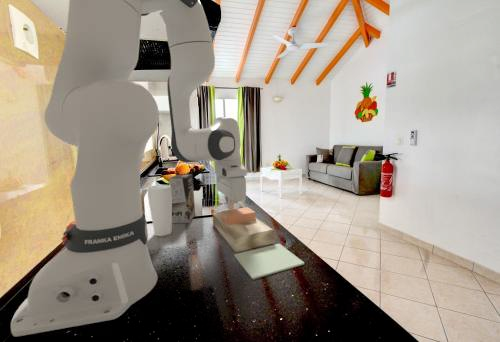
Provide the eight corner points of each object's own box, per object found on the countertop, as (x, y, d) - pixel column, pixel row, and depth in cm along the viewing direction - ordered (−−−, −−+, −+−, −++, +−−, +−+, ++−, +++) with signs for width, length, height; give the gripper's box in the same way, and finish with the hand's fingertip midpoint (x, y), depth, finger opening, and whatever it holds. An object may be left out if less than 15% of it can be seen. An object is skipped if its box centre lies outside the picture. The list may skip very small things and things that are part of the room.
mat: (252, 279, 49) (252, 277, 49) (234, 255, 59) (234, 254, 59) (304, 264, 54) (304, 262, 54) (279, 244, 64) (279, 243, 64)
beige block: (235, 252, 60) (235, 237, 60) (213, 224, 80) (212, 213, 80) (273, 243, 65) (273, 229, 64) (243, 219, 85) (242, 208, 84)
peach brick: (227, 225, 68) (227, 217, 68) (221, 219, 74) (221, 211, 73) (255, 220, 72) (255, 212, 72) (247, 214, 77) (247, 207, 77)
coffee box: (189, 223, 83) (186, 177, 80) (171, 223, 83) (167, 178, 80) (195, 214, 92) (193, 173, 89) (179, 215, 92) (176, 174, 89)
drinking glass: (148, 233, 74) (144, 186, 72) (169, 227, 79) (166, 183, 77) (156, 240, 69) (151, 190, 67) (178, 233, 74) (174, 186, 71)
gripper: (210, 165, 86) (213, 202, 88) (229, 172, 68) (231, 219, 70) (227, 164, 89) (229, 199, 91) (249, 170, 70) (250, 215, 72)
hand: (230, 208), depth 80 cm, fingers closed
